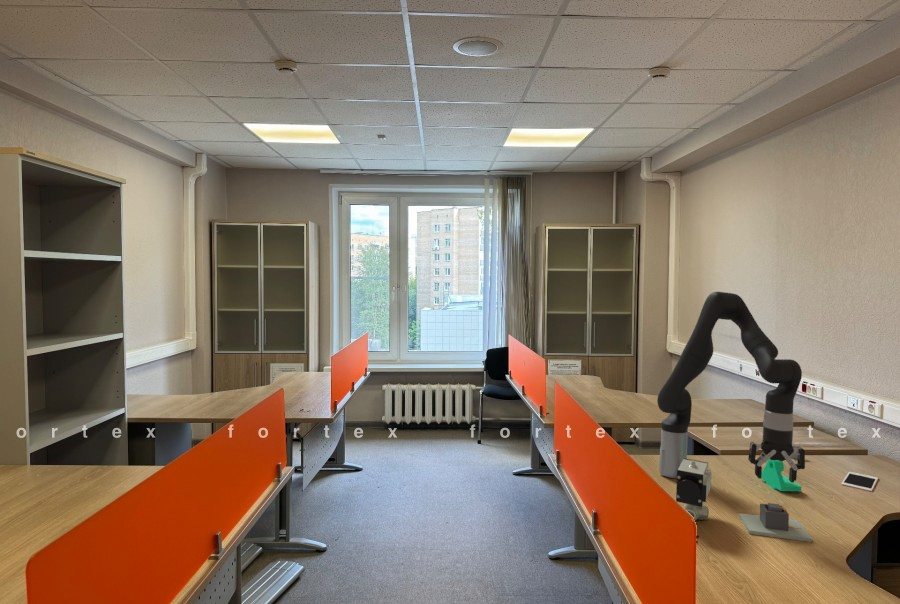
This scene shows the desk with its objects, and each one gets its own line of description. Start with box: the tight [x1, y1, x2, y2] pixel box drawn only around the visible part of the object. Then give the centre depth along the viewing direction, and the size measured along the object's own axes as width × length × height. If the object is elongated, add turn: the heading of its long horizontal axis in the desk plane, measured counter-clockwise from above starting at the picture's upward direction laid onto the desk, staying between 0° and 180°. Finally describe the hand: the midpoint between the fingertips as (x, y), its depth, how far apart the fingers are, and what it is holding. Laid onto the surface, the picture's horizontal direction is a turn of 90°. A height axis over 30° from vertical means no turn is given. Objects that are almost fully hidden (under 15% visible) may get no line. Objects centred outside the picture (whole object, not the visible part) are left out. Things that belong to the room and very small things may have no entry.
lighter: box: [789, 444, 799, 460], centre depth 224 cm, size 7×2×8 cm, turn 59°
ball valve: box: [675, 458, 712, 521], centre depth 165 cm, size 18×8×18 cm, turn 148°
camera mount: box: [761, 459, 802, 492], centre depth 191 cm, size 12×8×10 cm, turn 0°
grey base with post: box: [739, 502, 813, 543], centre depth 159 cm, size 16×12×7 cm
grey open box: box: [759, 503, 790, 531], centre depth 159 cm, size 6×6×5 cm
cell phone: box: [840, 471, 879, 493], centre depth 198 cm, size 9×18×1 cm, turn 135°
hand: (775, 479), depth 158 cm, fingers open, 8 cm apart
